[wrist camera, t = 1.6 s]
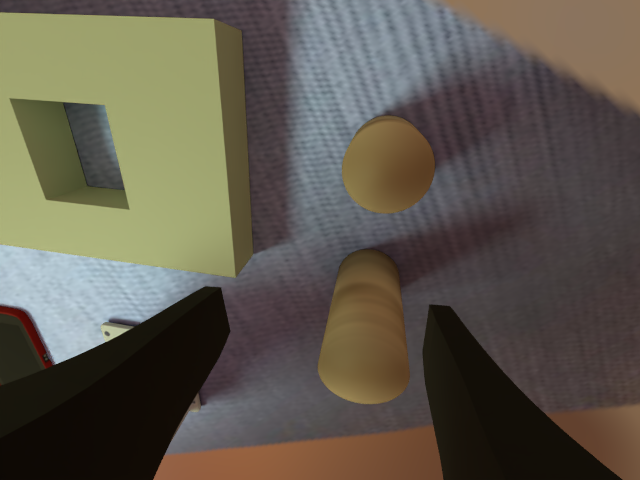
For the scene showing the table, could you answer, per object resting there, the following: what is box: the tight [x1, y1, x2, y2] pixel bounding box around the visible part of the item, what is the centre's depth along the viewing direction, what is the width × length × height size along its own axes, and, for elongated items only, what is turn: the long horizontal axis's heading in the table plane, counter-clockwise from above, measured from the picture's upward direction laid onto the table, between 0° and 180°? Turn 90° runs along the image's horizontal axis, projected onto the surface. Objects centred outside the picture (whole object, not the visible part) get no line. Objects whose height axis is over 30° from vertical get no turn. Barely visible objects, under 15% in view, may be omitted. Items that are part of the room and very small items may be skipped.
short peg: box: [342, 115, 435, 213], centre depth 15 cm, size 4×4×4 cm
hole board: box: [0, 13, 253, 278], centre depth 18 cm, size 13×18×3 cm
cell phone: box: [0, 306, 53, 386], centre depth 32 cm, size 8×15×1 cm, turn 178°
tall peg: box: [318, 249, 410, 404], centre depth 17 cm, size 4×4×8 cm
